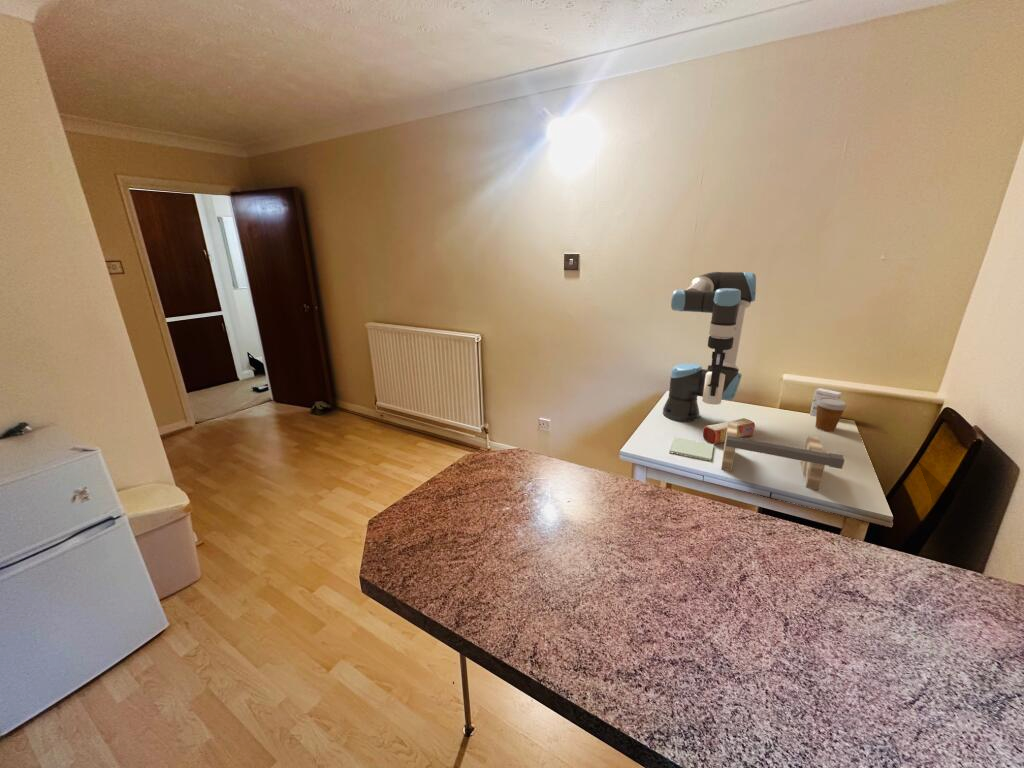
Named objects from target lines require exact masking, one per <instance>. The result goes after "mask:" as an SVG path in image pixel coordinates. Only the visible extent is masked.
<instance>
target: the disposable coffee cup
mask: <svg viewBox="0 0 1024 768" xmlns="http://www.w3.org/2000/svg"><path fill="white" fill-rule="evenodd" d="M846 409H847V404H846V402H845V401H843V400H842V399H840V400H839V399H835V398H828V397H822V398H819V399H818V401H817V416H815V428H816V427H817V428H816V429H818V430H820V429H821V430H820V431H823V430H824V432H829V431H832V432H834V430H836V428H837V426H838V424H839V422H840V419H841V417H842V415H843V413H844V410H846Z"/></svg>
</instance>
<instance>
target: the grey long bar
mask: <svg viewBox="0 0 1024 768" xmlns="http://www.w3.org/2000/svg"><path fill="white" fill-rule="evenodd" d="M726 446H727V447H733V448H735V449H738V450H742V451H743V450H745V451H749V452H755V453H760V454H765V455H770V456H775V457H781V458H786V459H791V460H796V461H797V460H798V461H801V462H802V461H806V462H812V463H817V464H822V465H825V466H828V467H830V468H834V469H840V470H842V469H843V465H844V462H845V458H844V456H843V454H838V453H832V452H829V453H828V452H824V453H823V452H817V451H812V450H806V449H805V448H800V447H794V446H790V445H789V446H788V445H785V444H784V445H782V444H777V443H772V442H767V441H761V440H760V441H759V440H754V439H750V438H745V437H741V438H739V437H733V436H727V440H726Z"/></svg>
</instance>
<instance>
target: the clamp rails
mask: <svg viewBox="0 0 1024 768" xmlns="http://www.w3.org/2000/svg"><path fill="white" fill-rule="evenodd" d="M727 436H733V437H737V424H732V423H728V426H727V432H726V438H725V442H724V445H723V452H722V462H721V470H723V469H724V471H729V472H732V470H733V464H734V458H735V453H736V448H733V447H727V446H726V440H727ZM804 449H806V450H812V451H817V452H823V453H825V451H824V449H823V447H822V443H821V440H820V438H819V437H818V436H817V437H815V436H810V435H807V437H806V441H805V447H804ZM800 465H801V468H802V469H801V470H802V474H803V478H804V479H803V480H804V482H805V486H806V487H805V488H809V489H813V490H817V491H818V490H819V488H820V485H821V481H822V477H823V474H824V470H825V466H826V465H822V464H817V463H812V462H806V461H801V462H800Z"/></svg>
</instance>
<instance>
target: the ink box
mask: <svg viewBox="0 0 1024 768" xmlns="http://www.w3.org/2000/svg"><path fill="white" fill-rule="evenodd" d="M842 395H843V392H840V391H835V390H831V389H826V388H821V387H819V388H817V389H815V391H814V394H813V399H812V403H811V408H810V412H809V415H810V416H813V417H816V416H817V401H818V399H819V398H822V397H828V398H835V399H839V400H842Z"/></svg>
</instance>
